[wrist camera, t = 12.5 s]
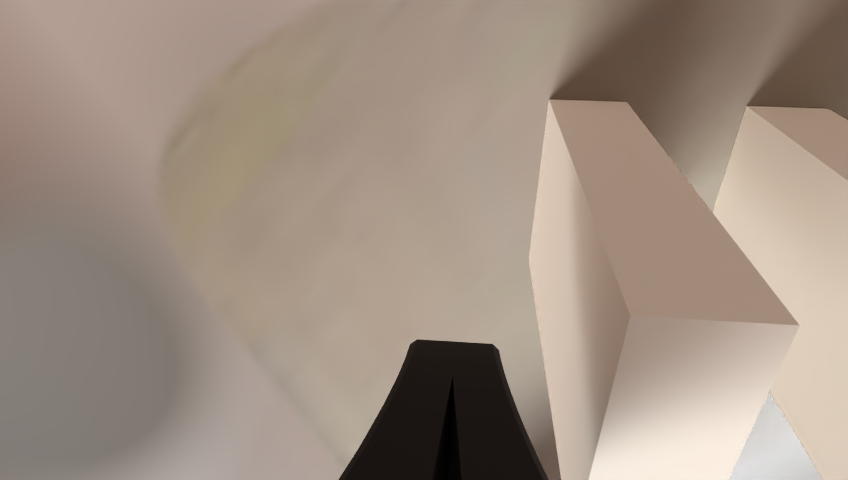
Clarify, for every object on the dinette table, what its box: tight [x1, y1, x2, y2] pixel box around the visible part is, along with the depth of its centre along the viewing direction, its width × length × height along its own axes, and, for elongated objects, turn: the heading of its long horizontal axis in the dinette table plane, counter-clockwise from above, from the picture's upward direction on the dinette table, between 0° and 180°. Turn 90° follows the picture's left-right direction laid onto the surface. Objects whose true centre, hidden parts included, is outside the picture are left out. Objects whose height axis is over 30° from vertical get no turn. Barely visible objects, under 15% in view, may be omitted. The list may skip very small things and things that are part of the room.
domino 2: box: [713, 106, 848, 480], centre depth 12 cm, size 2×5×9 cm, turn 179°
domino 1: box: [529, 99, 800, 480], centre depth 12 cm, size 2×5×9 cm, turn 179°
